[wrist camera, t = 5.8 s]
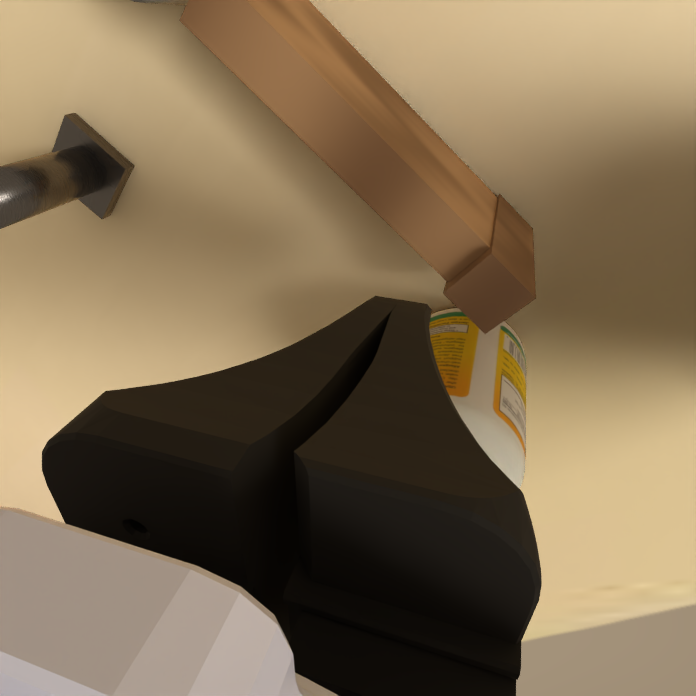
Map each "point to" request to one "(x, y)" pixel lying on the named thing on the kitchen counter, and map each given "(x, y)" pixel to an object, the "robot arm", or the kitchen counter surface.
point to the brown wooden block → (376, 148)
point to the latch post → (65, 175)
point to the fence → (164, 1)
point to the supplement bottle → (485, 385)
